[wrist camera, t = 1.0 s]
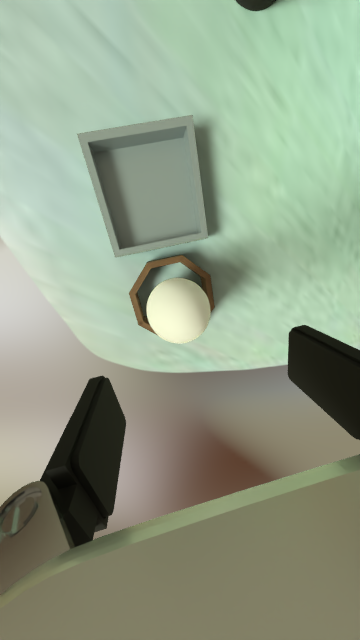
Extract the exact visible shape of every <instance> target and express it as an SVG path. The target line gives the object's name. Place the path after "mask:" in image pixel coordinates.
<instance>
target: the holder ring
mask: <svg viewBox="0 0 360 640" xmlns="http://www.w3.org/2000/svg"><path fill="white" fill-rule="evenodd" d="M178 262H181V263H182V264H184V265H185V266H186V267H188V268H189V269H191V270H192V271H194V272H195V273H196V274H198V275H199V276H200V277H201V283H202V290H203V291H204V292H205V294H206V295H207V297H208V300H209V303H210V310H211V311H212V310H213V309H214V299H213V292H212V284H211V277H210V275H209V274H208V273H206V272H205V271H204V270H202V269H201V268H200V267H198V266H197V265H195V264H194V263H193V262H191V261H190V260H188V259H187V258H186V257H184V256H183V255H177V256H173V257H168V258H163V259H159V260H154V261H149V262H147V264H146V265H145V267H144V269H143V270H142V272H141V274H140V275H139V277H138V279H137V281H136V282H135V284H134V286H133V287H132V289H131V291H130V293H129V295H130V298H131V301H132V305H133V308H134V311H135V315H136V318H137V321H138V325H139V326H141V327H143V328H145V329H147V330H149V331H151V332H153V333H154V334H156V333H155V332H154V330H153V329H152V327H151V326H150V324H149V321H148V318H147V317H145V316H144V314H143V310H142V307H141V303H140V300H139V296H138V293H137V291H138V289H139V287H140V286H141V284H142V282H143V281H144V279H145V277H146V276H147V274H148V272H149V271H150V269H151V268H155V267H159V266H164V265H169V264H173V263H178ZM156 335H157V334H156Z"/></svg>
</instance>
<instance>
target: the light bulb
mask: <svg viewBox="0 0 360 640" xmlns="http://www.w3.org/2000/svg"><path fill="white" fill-rule="evenodd" d="M210 313H211V310H210V303H209V300H208V297H207V295H206V294H205V292H204V291H203V290H202V289H201V287H200V286H198V285H197V284H196V283H194V282H192V281H190V280H188V279H184V278H171V279H168V280H165V281H163V282H161V283H160V284H158V285H157V286H156V287H155V288H154V290H153V291H152V292H151V294H150V296H149V299H148V302H147V317H148V321H149V324H150V326H151V327H152V329H153V330H154V332H155V333H156V334H157V335H158V336H159V337H161V338H163V339H164V340H167V341H169V342H172V343H187V342H190V341H192V340H194V339H196V338H198V337H199V336H200V335H201V334H202V333H203V332H204V330H205V329H206V327H207V325H208V322H209V319H210Z"/></svg>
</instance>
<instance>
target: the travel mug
mask: <svg viewBox="0 0 360 640" xmlns="http://www.w3.org/2000/svg"><path fill="white" fill-rule="evenodd" d="M236 1H237V2H238V3H239V4H240V5H241V6H243V7H244V8H246V9H249V10H253V11H257V10H262V9H265V8H267V7H269V6H270V5H271V4H272V3H273V2H274V1H275V0H236Z"/></svg>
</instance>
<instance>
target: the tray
mask: <svg viewBox="0 0 360 640" xmlns="http://www.w3.org/2000/svg"><path fill="white" fill-rule="evenodd" d="M77 135H78V138H79V142H80V145H81V148H82V151H83V155H84V158H85V161H86V164H87V168H88V171H89V174H90V177H91V180H92V184H93V187H94V190H95V193H96V197H97V200H98V203H99V206H100V210H101V213H102V216H103V219H104V223H105V226H106V229H107V232H108V236H109V239H110V242H111V245H112V249H113V252H114V255H115V257H121V256H126V255H130V254H135V253H140V252H145V251H149V250H154V249H159V248H164V247H168V246H173V245H178V244H183V243H188V242H192V241H197V240H202V239H206V238H208V233H207V225H206V217H205V210H204V202H203V194H202V186H201V178H200V170H199V162H198V155H197V147H196V139H195V131H194V123H193V115H190V116H183V117H177V118H171V119H165V120H159V121H153V122H147V123H140V124H134V125H128V126H122V127H116V128H110V129H104V130H98V131H91V132H85V133H79V134H77Z"/></svg>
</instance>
